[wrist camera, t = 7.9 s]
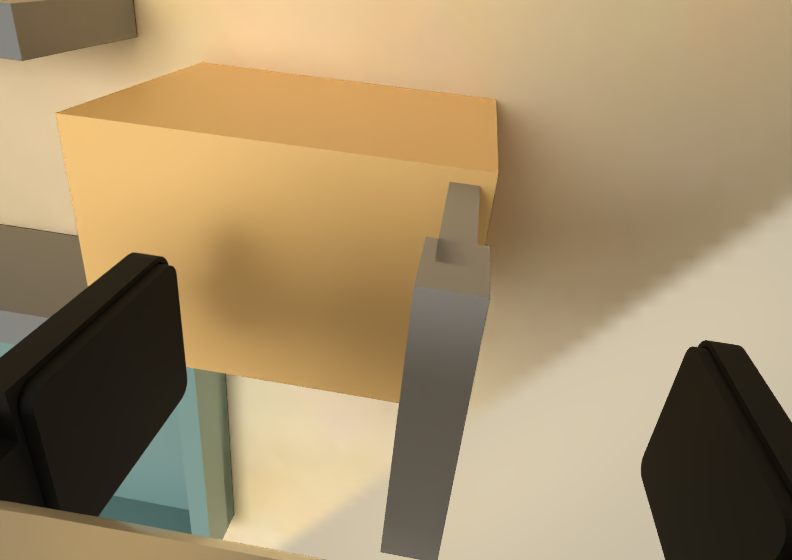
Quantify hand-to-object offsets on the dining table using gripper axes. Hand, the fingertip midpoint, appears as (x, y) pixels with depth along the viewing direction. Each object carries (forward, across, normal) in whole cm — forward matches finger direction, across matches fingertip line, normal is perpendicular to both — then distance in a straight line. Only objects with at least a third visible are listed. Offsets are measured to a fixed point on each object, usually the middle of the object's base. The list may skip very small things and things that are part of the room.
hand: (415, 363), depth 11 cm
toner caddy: (+9, +4, 0) cm, 10 cm away
